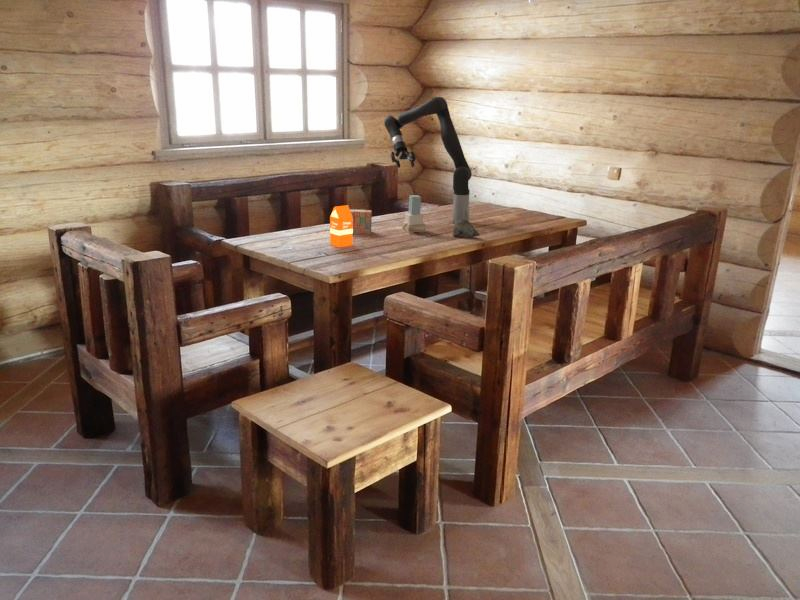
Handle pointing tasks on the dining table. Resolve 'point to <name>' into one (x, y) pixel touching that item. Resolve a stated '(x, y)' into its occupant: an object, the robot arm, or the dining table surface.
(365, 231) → the stack of blocks
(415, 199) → the pillar block
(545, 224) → the dining table surface
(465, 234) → the mineral rock
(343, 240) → the orange juice
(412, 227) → the tower bottom slab
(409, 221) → the tower top slab
